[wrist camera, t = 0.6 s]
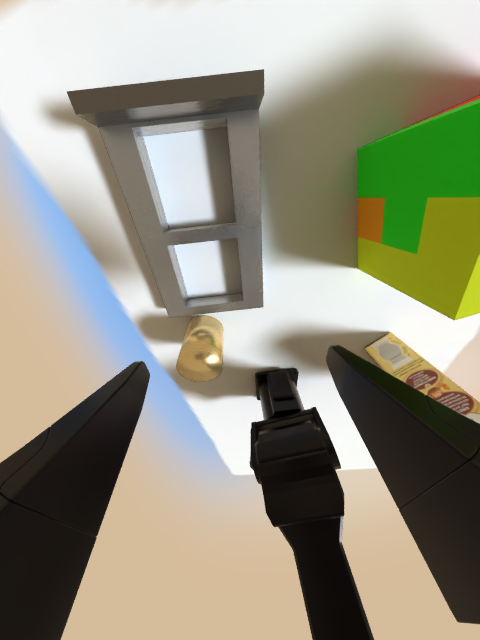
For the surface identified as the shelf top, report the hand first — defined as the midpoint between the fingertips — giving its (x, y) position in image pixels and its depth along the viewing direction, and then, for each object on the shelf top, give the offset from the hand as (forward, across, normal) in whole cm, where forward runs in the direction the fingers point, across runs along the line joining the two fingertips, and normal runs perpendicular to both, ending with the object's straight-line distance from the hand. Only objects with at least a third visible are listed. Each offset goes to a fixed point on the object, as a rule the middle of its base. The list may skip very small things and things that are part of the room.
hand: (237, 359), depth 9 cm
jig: (+12, +2, -4) cm, 13 cm away
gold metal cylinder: (+12, +4, +7) cm, 14 cm away
